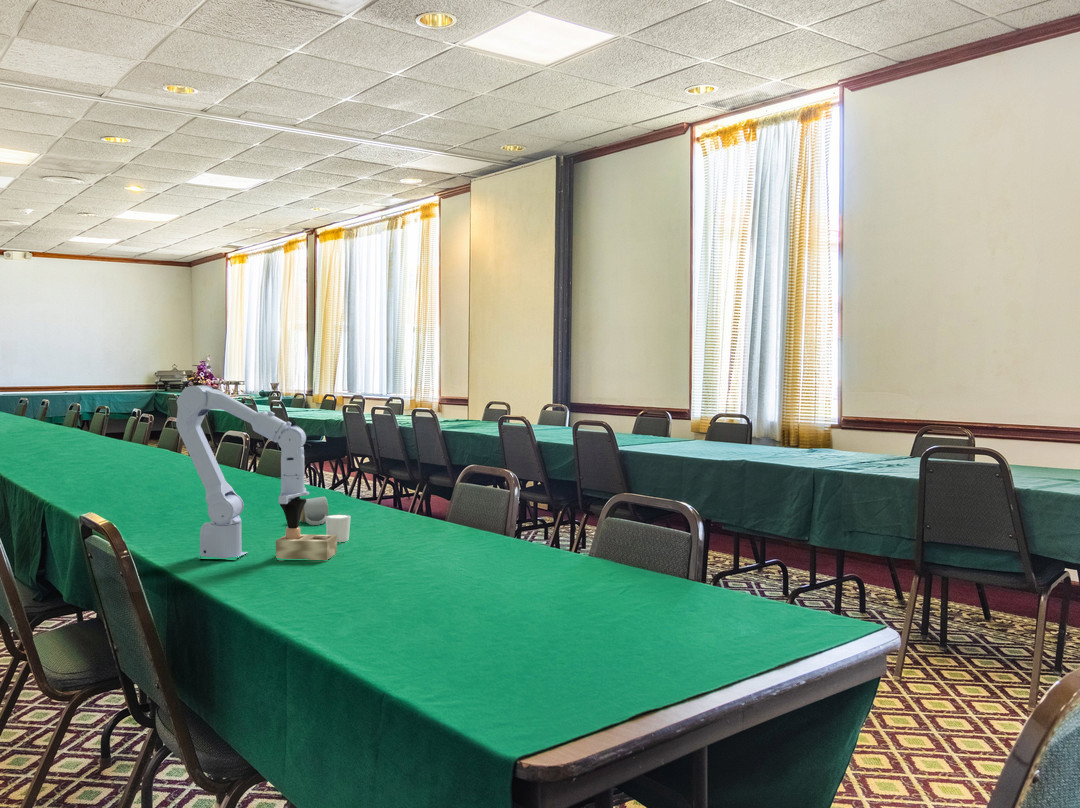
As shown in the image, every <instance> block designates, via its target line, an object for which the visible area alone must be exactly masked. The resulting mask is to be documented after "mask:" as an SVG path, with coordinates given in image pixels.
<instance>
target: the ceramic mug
mask: <svg viewBox="0 0 1080 808" xmlns="http://www.w3.org/2000/svg"><path fill="white" fill-rule="evenodd" d="M305 499H306V503H305V505H304V507H303V510H302V513H301V517H300V523H304V522H307V523H306V524H308V525H310V526H314V525H316V526H321V525H320V524H322V525H323V524H325V523H326V520H325V517H326V516H329V504H328V499H327V498H326V496H319V497H312V498H305Z"/></svg>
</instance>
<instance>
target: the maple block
mask: <svg viewBox="0 0 1080 808" xmlns="http://www.w3.org/2000/svg"><path fill="white" fill-rule="evenodd" d="M315 536H327V537H328V539H327V540H313V537H315ZM337 545H338V543H337V535H327V534H308V533H307V534H301V538H300V539H286V534H284V535H283V536H281V537H280V538H278V539H276V540H275V559H276V558H281V559H308V560H328V559H329V558H331V557H332V556H333V555H335V554H336V553H337V552H338V548H337V547H338V546H337ZM337 554H338V553H337ZM337 554H336V555H337ZM336 555H335V556H336ZM332 558H333V557H332ZM332 558H331V559H332ZM328 561H329V560H328Z"/></svg>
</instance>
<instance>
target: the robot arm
mask: <svg viewBox="0 0 1080 808" xmlns="http://www.w3.org/2000/svg"><path fill="white" fill-rule="evenodd" d="M176 406H177V411H176V412H177V413H176V422H175V423H176V425H175V426H176V429H177V431H178V434H179V435H180V438H181V440H182V442H183V444H184V446H185V448H186V451H187V453H188V455H189V457H190V459H191V461H192V463H193V466H194V468H195V470H196V472H197V475H198V477H199V479H200V481H201V483H202V485H203V487H204V489H205V502H206V504H207V515H208V518H209V519H210V521H209V522H207V521H206V522H205V523H203V524H202V526H200V527H201V528H200V532H199V557H200V556H204V557H218V558H230V557H237V556H238V557H239V556H241V555H244V554H246V553H248V551H243V550H242V547H243V546H242V544H243V543H242V518H241V517H240V515H241V514H242V512H243V511H244V507H245V504H244V501H243V499H242V497H241V496H240V495H238V494H237V493H236V492H235V490H234V488H233V486H231V485H230V484H229V483H228V482H227V480H226V478H225V476H224V473H223V471H222V469H221V468H220V465H219V463H218V461H217V458H216V456H215V455H214V452H213V450H212V448H211V445H210V443H209V441H208V439H207V437H206V434H205V433H204V430H203V428H202V426H201V425H202V423H203V420H204V419H205V417H206V415H207V414H208V412H210V411H211V410H222V411H224V412H226V413H229V414H230V415H233V416H234V417H236V418H238V419H241V420H242V421H245V422H247V423H249V424H250V425H251V427H252V431H253V432H255V433H257V434H259V435H261V436H262V437H264V438H266V439H268V440H270V441H272V442H274V443H278V446H279V447H280V448H281V449H280V450H281V452H280V453H281V456H280V493H279V495H278V504H279V506H280V507H281V509H282V511H283V513H284V516H285V520H286V524H287V527H288V528H298V527H300V523H301V521H300V517H301V513H302V510H303V507H304V505H305V503H306V499H307V498H301V497H306V496H308V495H310V491H307V488H306V487H305V486H306V483H305V479H306V478H305V475H306V474H305V449H304V448H305V447H304V445H305V444H306V441H307V434H306V432H305V430H304V429H302V428H301V427H300V426H299V425H292V422H291V421H284V420H283V419H282V418H279V417H277V416H275V415H276V413H275V412H273V411H271V410H270V411H269V412H268V411H266V410H263V411H260V412H257V410H254V409H253V408H251V407H249V406H247V405H246V404H245V403H242V402H241V401H239V400H237V399H236V398H234V397H232V396H231V395H229V394H227V393H225V392H223V391H222V390H219V389H216V388H213V387H212V386H210V385H206V384H202V385H189V386H186V387H185V388H184V389H183V390H181V393H180V394H179V395H178V398H177V399H176ZM248 554H249V553H248ZM246 555H247V554H246ZM244 556H245V555H244Z"/></svg>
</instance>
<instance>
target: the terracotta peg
mask: <svg viewBox="0 0 1080 808" xmlns="http://www.w3.org/2000/svg"><path fill="white" fill-rule="evenodd" d="M301 531H302V530H301V526H298V528H288V526H287V527H285V535H286V539H300V538H301Z"/></svg>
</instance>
